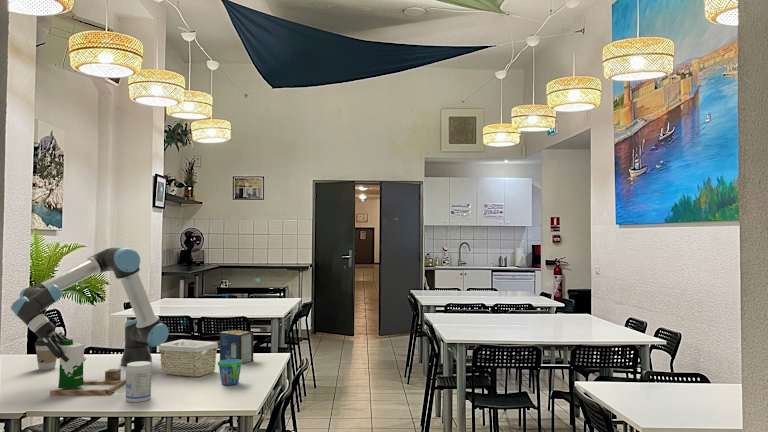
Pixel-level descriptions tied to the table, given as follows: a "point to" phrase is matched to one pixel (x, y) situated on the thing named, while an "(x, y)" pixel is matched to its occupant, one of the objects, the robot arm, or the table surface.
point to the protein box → (236, 345)
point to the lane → (90, 391)
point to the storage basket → (188, 357)
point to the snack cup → (229, 371)
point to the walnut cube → (113, 375)
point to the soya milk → (73, 376)
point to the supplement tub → (138, 381)
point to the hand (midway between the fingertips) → (79, 363)
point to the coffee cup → (44, 356)
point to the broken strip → (97, 380)
